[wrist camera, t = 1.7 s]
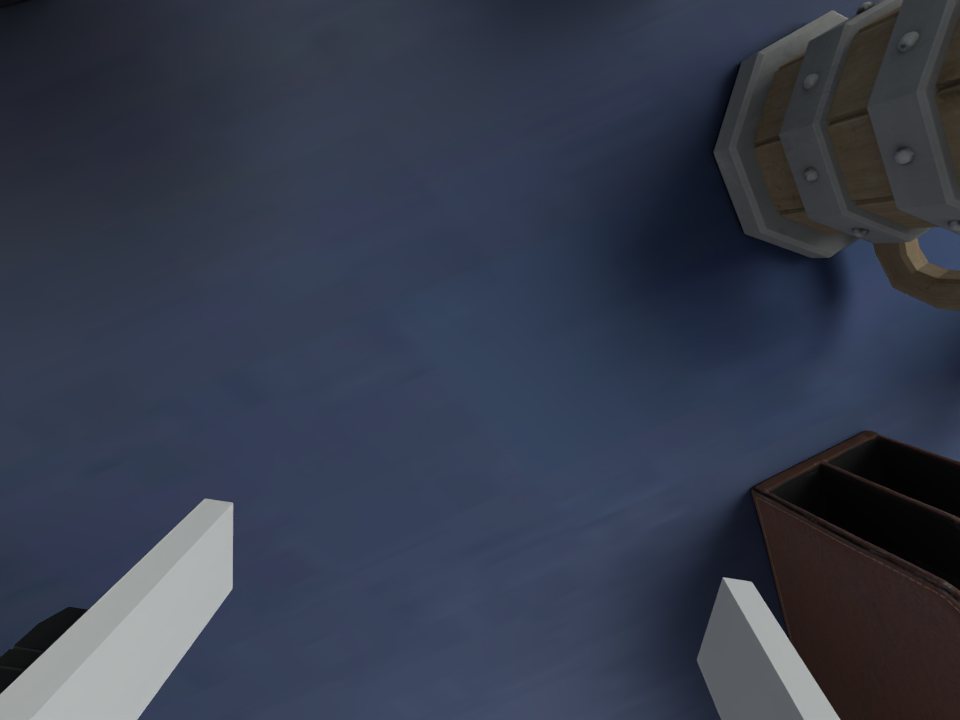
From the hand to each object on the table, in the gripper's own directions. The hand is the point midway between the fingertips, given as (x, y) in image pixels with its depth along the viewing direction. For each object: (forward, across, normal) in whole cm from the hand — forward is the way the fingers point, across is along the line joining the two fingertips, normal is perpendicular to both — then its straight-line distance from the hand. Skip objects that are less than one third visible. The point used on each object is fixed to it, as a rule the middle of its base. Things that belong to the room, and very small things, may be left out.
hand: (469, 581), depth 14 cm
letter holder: (+23, +27, -13) cm, 37 cm away
